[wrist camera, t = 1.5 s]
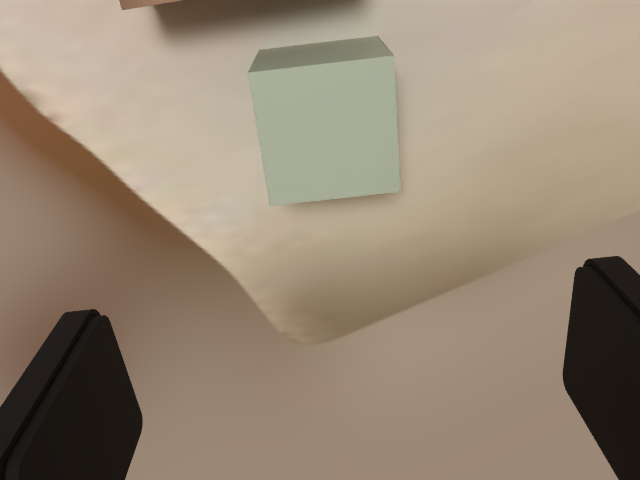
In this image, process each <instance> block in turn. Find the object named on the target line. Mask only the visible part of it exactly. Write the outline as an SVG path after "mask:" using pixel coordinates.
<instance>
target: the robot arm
mask: <svg viewBox="0 0 640 480" xmlns="http://www.w3.org/2000/svg"><path fill="white" fill-rule="evenodd" d="M563 381H564V386H565V389H566V391H567V393H568V395H569V396H570V398H571V399H572V401H573V403H574V405H575V406H576V408H577V410H578V411H579V413H580V415H581V417H582V418H583V420H584V421H585V423H586V425H587V427H588V428H589V430H590V432H591V433H592V435H593V436H594V439H595V440H596V442H597V444H598V445H599V447H600V448H601V450H602V452H603V454H604V455H605V457H606V459H607V460H608V462H609V464H610V466H611V467H612V469H613V471H614V472H615V474H616V476H617V477H618V479H619V480H640V275H639V274H638V273H637V272H636V271H635V270H634V269H633V268H632V267H631V266H630V265H628V264H627V262H625V260H623V259H622V258H621V257H619V256H613V257H603V258H593V259H588V260H586V261H585V263H584V265H583V267H579V268H577V269H576V271H575V277H574V284H573V292H572V302H571V309H570V318H569V325H568V334H567V342H566V350H565V358H564V367H563ZM141 431H142V414H141V410H140V408H139V404H138V402H137V399H136V396H135V393H134V390H133V387H132V384H131V381H130V379H129V376H128V372H127V370H126V367H125V364H124V361H123V358H122V355H121V352H120V349H119V346H118V343H117V340H116V337H115V335H114V332H113V329H112V326H111V323H110V321H109V318H108V317H107V316H105V315H103V316H101V315H100V313H99V312H98V311H97V310H95V309H91V310H82V311H73V312H66V313H64V314H63V315H62V317H61V318H60V320H59V321H58V322H57V324H56V326H55V327H54V328H53V330H52V332H51V333H50V335H49V336H48V338H47V339H46V340H45V342H44V343H43V345H42V346H41V348H40V349H39V351H38V352H37V354H36V355H35V357H34V358H33V360H32V361H31V363H30V364H29V365H28V367H27V368H26V370H25V372H24V373H23V375H22V376H21V377H20V379H19V381H18V382H17V383H16V385H15V386H14V388H13V389H12V391H11V392H10V394H9V395H8V397H7V398H6V400H5V401H4V403H3V404H2V406H1V407H0V480H125V478H126V475H127V472H128V469H129V466H130V463H131V460H132V457H133V454H134V451H135V449H136V446H137V443H138V440H139V437H140V434H141Z"/></svg>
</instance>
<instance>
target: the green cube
mask: <svg viewBox="0 0 640 480" xmlns="http://www.w3.org/2000/svg"><path fill="white" fill-rule="evenodd" d="M248 77H249V83H250V89H251V95H252V101H253V107H254V113H255V119H256V125H257V131H258V137H259V143H260V149H261V155H262V161H263V168H264V174H265V180H266V186H267V192H268V198H269V204H270V206H275V205H284V204H294V203H303V202H312V201H321V200H331V199H340V198H349V197H358V196H368V195H377V194H386V193H395V192H401V191H400V170H399V148H398V126H397V105H396V83H395V62H394V55H393V53H392V52H391V51H390V50H389V49H388V47H387V46H386V45H385V44H384V43H383V41H382V40H381V39H380V38H379V36H373V37H365V38H356V39H348V40H339V41H331V42H322V43H314V44H305V45H297V46H288V47H280V48H272V49H263V50H259V51H258V53H257V55H256V57H255V59H254V61H253V63H252V65H251V67H250V69H249V71H248Z"/></svg>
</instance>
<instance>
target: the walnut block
mask: <svg viewBox="0 0 640 480" xmlns="http://www.w3.org/2000/svg"><path fill="white" fill-rule="evenodd" d="M119 1H120V5H121V8H122V10H126V9H132V8H139V7H145V6H151V5H157V4H163V3H169V2H176V1H182V0H119Z"/></svg>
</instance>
